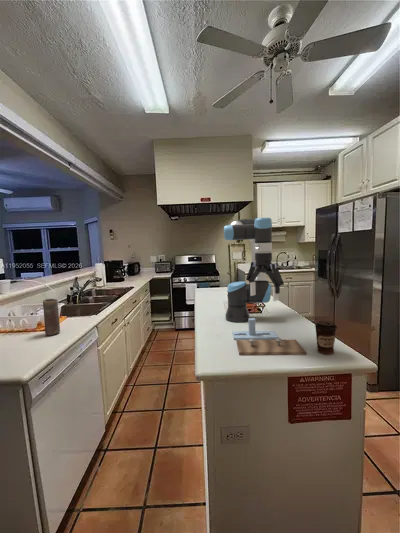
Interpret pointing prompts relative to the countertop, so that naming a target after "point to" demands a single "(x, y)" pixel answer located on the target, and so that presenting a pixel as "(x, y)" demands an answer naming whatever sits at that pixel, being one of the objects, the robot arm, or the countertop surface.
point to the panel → (257, 337)
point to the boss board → (269, 347)
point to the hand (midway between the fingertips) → (263, 297)
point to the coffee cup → (325, 336)
